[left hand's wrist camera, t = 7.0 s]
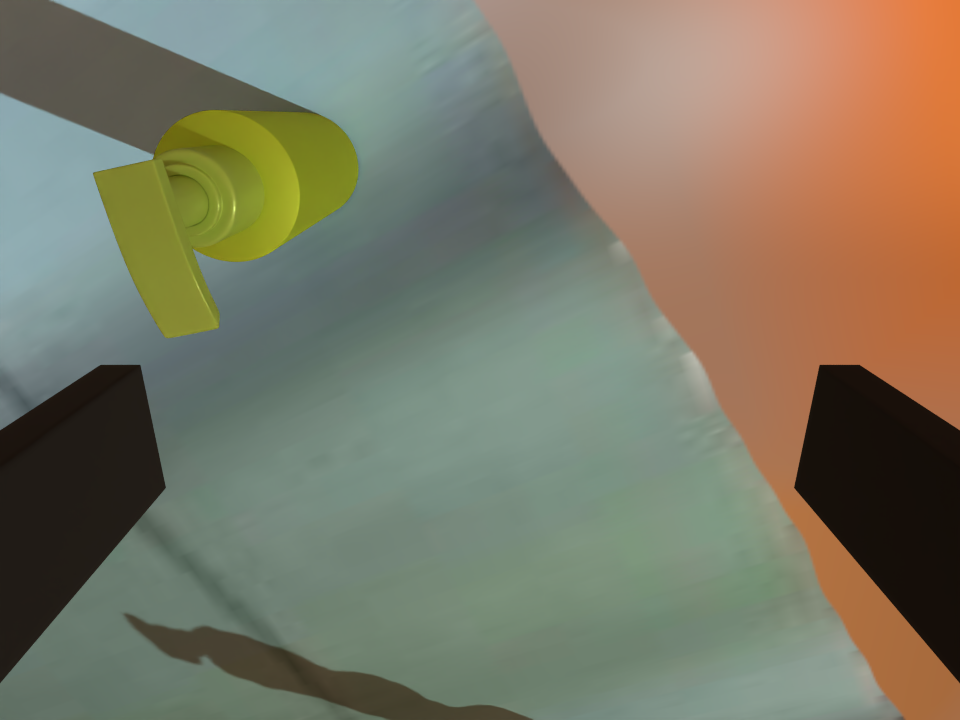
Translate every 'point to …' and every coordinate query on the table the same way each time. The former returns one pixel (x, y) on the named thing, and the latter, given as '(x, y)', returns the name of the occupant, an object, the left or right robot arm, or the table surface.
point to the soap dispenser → (221, 201)
